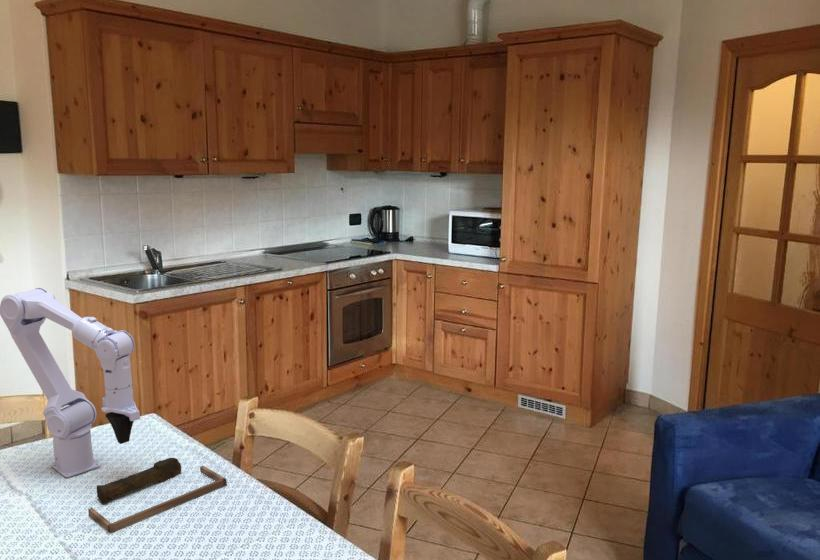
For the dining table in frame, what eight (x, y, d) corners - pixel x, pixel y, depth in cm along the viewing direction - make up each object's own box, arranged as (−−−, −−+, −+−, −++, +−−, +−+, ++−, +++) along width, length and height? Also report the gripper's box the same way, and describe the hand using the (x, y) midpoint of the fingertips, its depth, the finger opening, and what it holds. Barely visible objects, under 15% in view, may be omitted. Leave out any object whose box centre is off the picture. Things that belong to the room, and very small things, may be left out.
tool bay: (88, 515, 141) (88, 509, 141) (203, 471, 160) (203, 465, 160) (109, 533, 135) (109, 526, 134) (226, 485, 154) (226, 478, 154)
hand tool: (103, 507, 145) (101, 487, 144) (96, 500, 148) (94, 480, 147) (186, 477, 158) (185, 459, 157) (178, 471, 161) (177, 453, 160)
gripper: (87, 382, 156) (92, 438, 159) (115, 398, 146) (120, 456, 149) (117, 375, 161) (122, 429, 164) (146, 389, 151) (151, 446, 154)
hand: (123, 441), depth 157 cm, fingers closed
